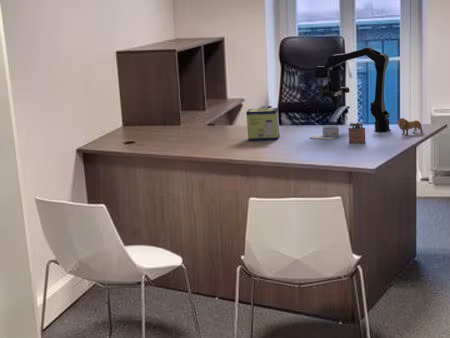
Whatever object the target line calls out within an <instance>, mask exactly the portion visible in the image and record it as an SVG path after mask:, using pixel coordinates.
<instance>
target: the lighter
mask: <svg viewBox="0 0 450 338" xmlns="http://www.w3.org/2000/svg"><path fill="white" fill-rule="evenodd" d="M363 125H364V124H363V123H359V122H356V123H354V122H351V123H349V127H348V129H347V130H348V144H350V145H365V144H366V143H367V142H366V127H363Z"/></svg>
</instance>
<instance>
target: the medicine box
mask: <svg viewBox="0 0 450 338" xmlns="http://www.w3.org/2000/svg"><path fill="white" fill-rule="evenodd" d="M322 134H323V137H335V136H339V135H340V129H339V126H338V125H323V126H322ZM339 137H340V136H339Z"/></svg>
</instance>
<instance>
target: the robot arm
mask: <svg viewBox="0 0 450 338" xmlns="http://www.w3.org/2000/svg"><path fill="white" fill-rule="evenodd" d="M365 56H366V57H368V58H369V59H370V60H371V61H373V62H374V68H375V71H376V75H375V92H374V101H372V102H370V110H369V111H370V114H371V115H372V116H373V117H374V119H375V120H374V130H373V131H374V132H378V133H380V132H381V133H382V132H383V133H386V132H388V131H389V132H390V131H391V130H392V129H391V128H390V119H389V118H390V113H389V112H388V111H387V110H386V103H385V99H384V94H385V93H384V92H385V78H386V70H387V67H388V65H389V61H390V57H389V56H388V54H386V53H382V52H380V51H378V50H375V49H373V47H371V46H367V47H364V48H362V49H359V50H354V51H350V52H347V53H338V54H331V55H329V56H328V58H327V61H326V64H325V65H324V66H319V65H318V66H316V67H315V72H314V78H315V79H316V80H328V79H329V80H328V81H327V84H324V83H322V84H319V87H318V90H319V91H320V92H321V93H320V96H321V97H323V98H329V99H331V101H332V105H333V107H334V109H338V108H339V104H340V103H341V100H342V98H343V96H344V93H346V94H347V93H350V88H349V87H348V86H342V85H341V84H342V83H343V80H342V79H341V71H343V70H345V68H344V67H343V66H342V64H343V63H345V62H346V61H351V60H354V59H357V58H361V57H365ZM338 65H339V66H338Z"/></svg>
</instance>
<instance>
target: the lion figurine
mask: <svg viewBox="0 0 450 338" xmlns="http://www.w3.org/2000/svg"><path fill="white" fill-rule="evenodd" d="M397 125H398V127H399V129H400V130H402V134H401V135H402V136H404V135H405V136H406V135H408V136H409V130H411V129H414V131H412V134H415V133H416V132H417V130H419V131H420V132H419V133H420V134H421V133H422V134H423V133H424V132H423V128H422V124H421V122H420V120H416V119H415V120H413V121H408V120H407V119H405V118H404V117H400V118H398V121H397Z"/></svg>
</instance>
